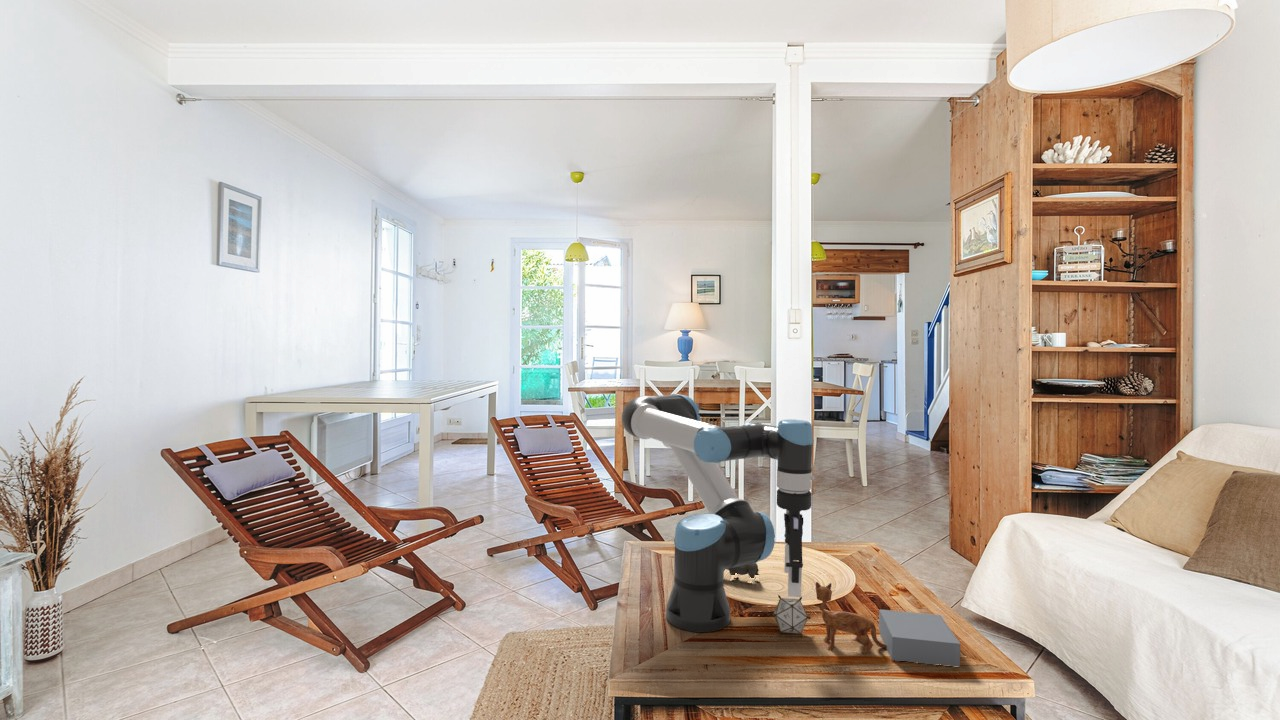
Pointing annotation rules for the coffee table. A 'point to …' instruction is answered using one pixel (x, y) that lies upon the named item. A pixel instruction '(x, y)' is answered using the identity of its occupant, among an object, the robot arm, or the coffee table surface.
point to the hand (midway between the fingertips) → (792, 584)
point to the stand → (918, 638)
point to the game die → (790, 616)
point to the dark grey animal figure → (745, 570)
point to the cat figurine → (845, 622)
